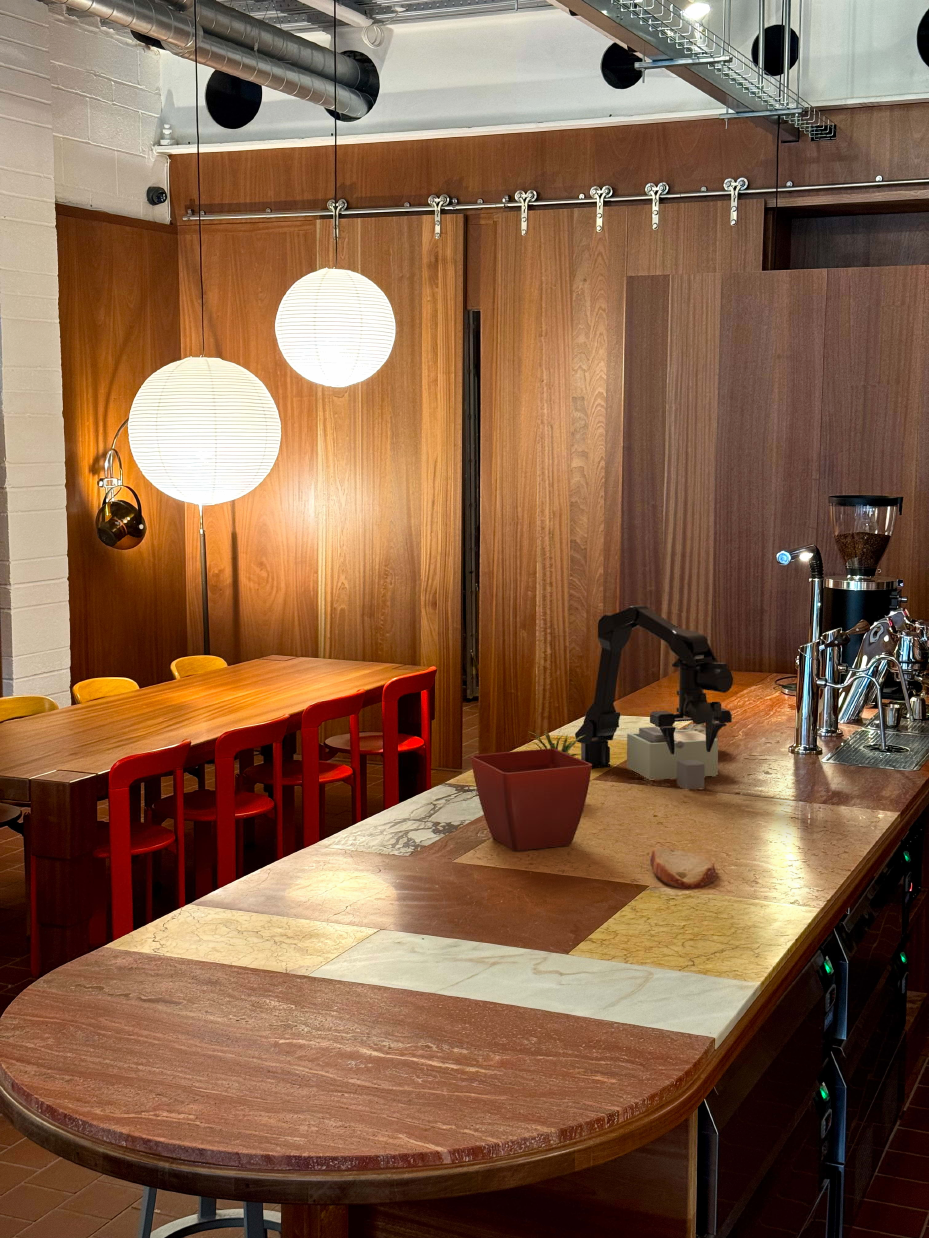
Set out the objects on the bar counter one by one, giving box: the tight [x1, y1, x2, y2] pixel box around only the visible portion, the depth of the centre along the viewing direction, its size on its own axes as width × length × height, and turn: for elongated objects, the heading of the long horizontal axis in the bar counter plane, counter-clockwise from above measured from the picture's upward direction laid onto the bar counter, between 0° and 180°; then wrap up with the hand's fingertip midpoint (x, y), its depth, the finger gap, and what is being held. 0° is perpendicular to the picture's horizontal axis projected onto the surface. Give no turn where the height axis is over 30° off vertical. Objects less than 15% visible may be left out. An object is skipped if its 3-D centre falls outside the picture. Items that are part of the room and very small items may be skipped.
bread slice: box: [650, 846, 717, 890], centre depth 252 cm, size 18×18×4 cm
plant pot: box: [470, 747, 593, 852], centre depth 273 cm, size 19×19×17 cm
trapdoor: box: [638, 726, 706, 743], centre depth 335 cm, size 16×12×4 cm
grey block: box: [676, 760, 705, 790], centre depth 320 cm, size 4×6×6 cm
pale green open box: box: [626, 729, 719, 781], centre depth 335 cm, size 18×16×9 cm
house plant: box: [529, 728, 585, 757], centre depth 310 cm, size 14×14×16 cm
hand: (690, 752), depth 319 cm, fingers open, 9 cm apart
